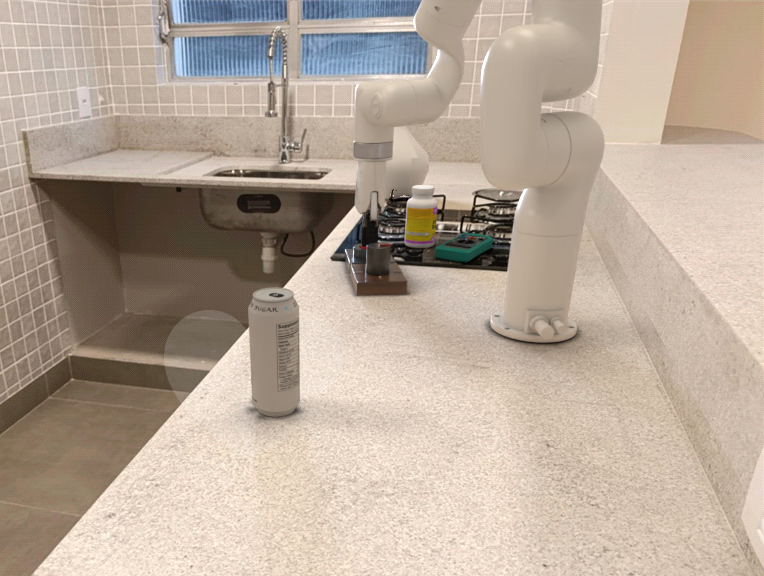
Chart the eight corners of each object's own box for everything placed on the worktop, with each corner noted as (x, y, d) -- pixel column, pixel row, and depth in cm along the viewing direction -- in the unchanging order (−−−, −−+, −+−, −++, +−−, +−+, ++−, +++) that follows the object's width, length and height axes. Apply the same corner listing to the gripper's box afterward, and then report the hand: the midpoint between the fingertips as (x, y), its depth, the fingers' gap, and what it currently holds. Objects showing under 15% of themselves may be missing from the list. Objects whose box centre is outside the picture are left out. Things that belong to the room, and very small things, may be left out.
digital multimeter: (494, 248, 152) (495, 234, 150) (467, 264, 141) (468, 250, 140) (461, 244, 156) (463, 231, 154) (433, 259, 145) (434, 245, 144)
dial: (367, 275, 128) (368, 247, 126) (364, 268, 132) (365, 241, 130) (391, 275, 128) (392, 246, 126) (388, 268, 132) (389, 240, 130)
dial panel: (406, 294, 125) (407, 280, 124) (356, 295, 126) (356, 281, 125) (396, 275, 136) (397, 261, 135) (350, 276, 137) (350, 263, 136)
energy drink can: (272, 392, 92) (268, 282, 85) (309, 404, 88) (309, 291, 82) (242, 410, 87) (236, 296, 81) (280, 423, 84) (277, 305, 77)
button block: (395, 272, 138) (396, 253, 136) (349, 274, 138) (349, 254, 136) (387, 257, 148) (388, 239, 146) (344, 259, 148) (345, 240, 146)
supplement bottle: (434, 249, 152) (439, 189, 147) (404, 249, 153) (407, 189, 148) (434, 241, 158) (438, 184, 152) (404, 241, 159) (407, 184, 154)
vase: (360, 202, 200) (364, 90, 188) (366, 190, 216) (370, 86, 204) (426, 203, 196) (434, 88, 183) (427, 191, 212) (434, 85, 199)
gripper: (349, 146, 140) (347, 237, 148) (357, 157, 127) (354, 256, 135) (387, 145, 140) (382, 236, 148) (398, 156, 126) (393, 255, 134)
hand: (369, 245), depth 141 cm, fingers closed
